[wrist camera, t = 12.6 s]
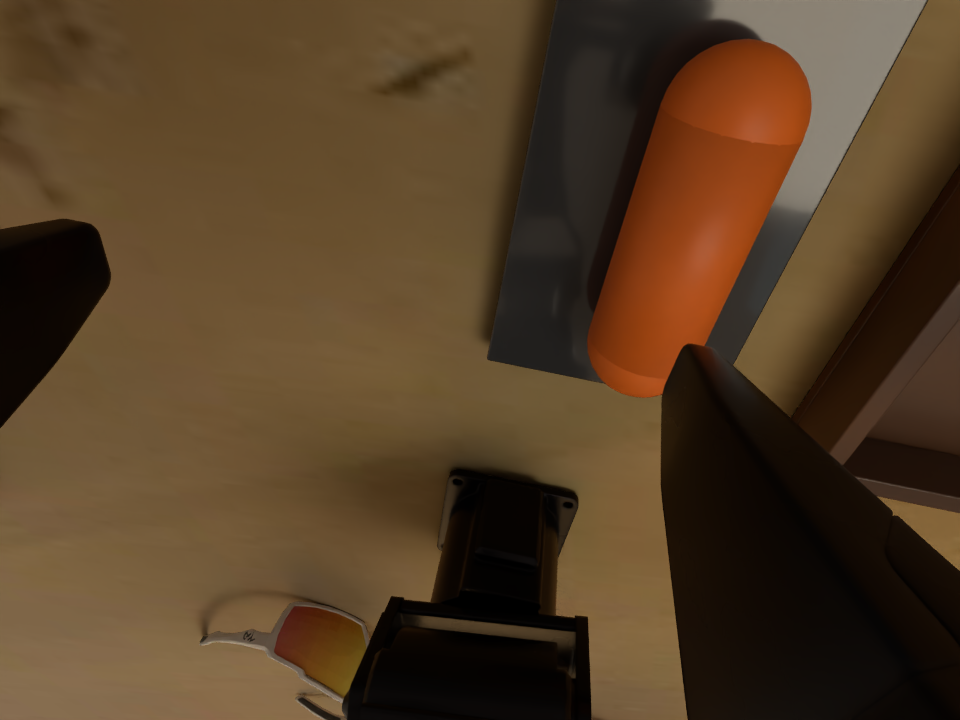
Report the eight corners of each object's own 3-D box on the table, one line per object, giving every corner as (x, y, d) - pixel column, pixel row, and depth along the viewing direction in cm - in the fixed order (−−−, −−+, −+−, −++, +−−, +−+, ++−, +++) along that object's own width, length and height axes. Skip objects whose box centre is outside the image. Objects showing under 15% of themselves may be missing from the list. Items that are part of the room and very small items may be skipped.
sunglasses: (452, 680, 42) (431, 758, 39) (326, 681, 51) (299, 746, 47) (315, 577, 36) (275, 658, 33) (197, 598, 45) (155, 664, 41)
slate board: (706, 386, 24) (711, 406, 23) (490, 342, 24) (486, 360, 23) (914, -18, 15) (937, -15, 14) (572, -81, 15) (571, -81, 14)
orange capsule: (654, 353, 22) (694, 420, 19) (564, 350, 21) (592, 420, 19) (787, 35, 15) (877, 68, 13) (662, 16, 15) (728, 47, 12)
